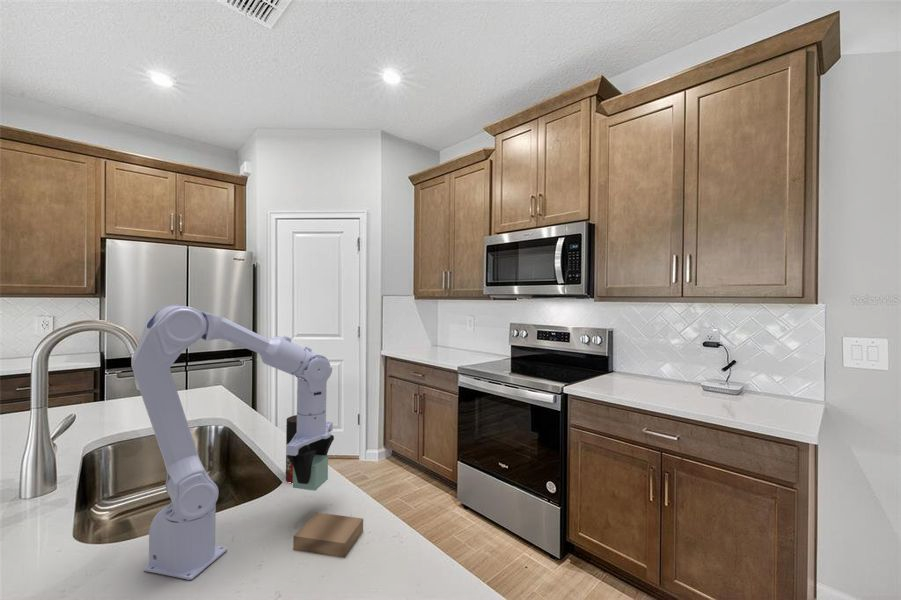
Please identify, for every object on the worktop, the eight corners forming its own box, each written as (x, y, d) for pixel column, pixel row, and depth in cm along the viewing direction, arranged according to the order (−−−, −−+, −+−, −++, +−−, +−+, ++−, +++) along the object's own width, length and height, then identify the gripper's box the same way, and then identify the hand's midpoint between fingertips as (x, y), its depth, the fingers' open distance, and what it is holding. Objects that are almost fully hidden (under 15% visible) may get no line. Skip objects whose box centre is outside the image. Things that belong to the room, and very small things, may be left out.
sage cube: (292, 487, 81) (293, 463, 81) (306, 476, 86) (306, 453, 86) (315, 490, 80) (315, 465, 80) (327, 479, 85) (328, 455, 85)
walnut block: (293, 552, 73) (293, 535, 73) (316, 527, 81) (316, 512, 81) (344, 560, 71) (345, 543, 71) (363, 533, 79) (363, 518, 79)
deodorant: (315, 474, 103) (316, 416, 102) (301, 485, 97) (302, 423, 96) (295, 471, 104) (296, 413, 104) (280, 481, 98) (281, 420, 98)
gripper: (310, 424, 75) (309, 496, 75) (345, 403, 89) (344, 464, 90) (276, 421, 77) (275, 491, 77) (316, 401, 91) (315, 460, 91)
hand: (310, 476), depth 83 cm, fingers closed on sage cube, 5 cm apart
